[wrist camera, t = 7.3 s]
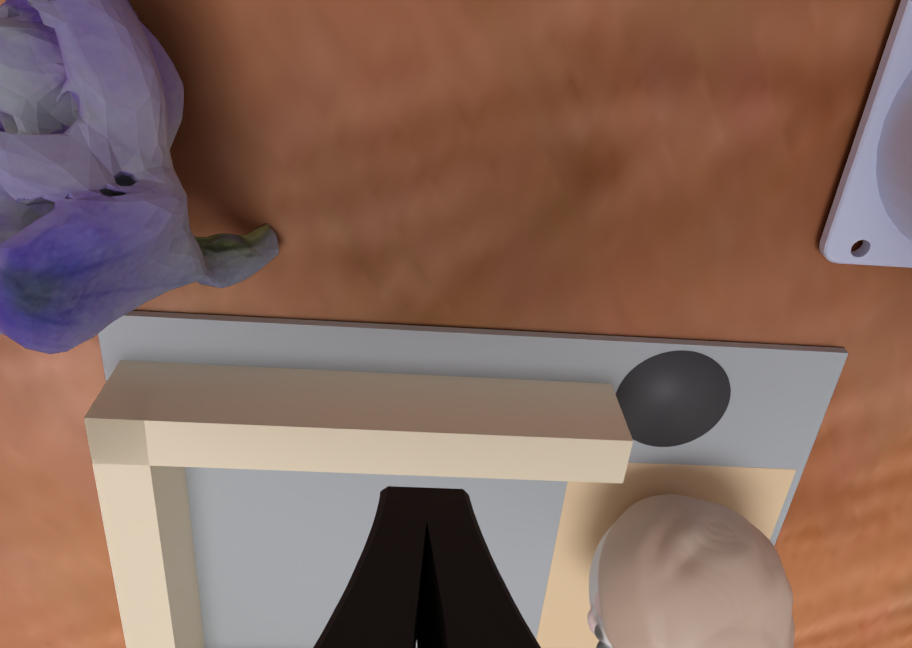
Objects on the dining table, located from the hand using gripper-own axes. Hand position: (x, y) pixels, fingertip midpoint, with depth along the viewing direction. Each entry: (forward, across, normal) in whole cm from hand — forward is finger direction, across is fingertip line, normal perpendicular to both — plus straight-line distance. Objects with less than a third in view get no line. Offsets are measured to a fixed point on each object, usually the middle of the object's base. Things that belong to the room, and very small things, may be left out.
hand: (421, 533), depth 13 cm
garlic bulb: (+10, -9, +9) cm, 17 cm away
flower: (+11, +8, -3) cm, 13 cm away
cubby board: (+10, -2, +10) cm, 15 cm away
